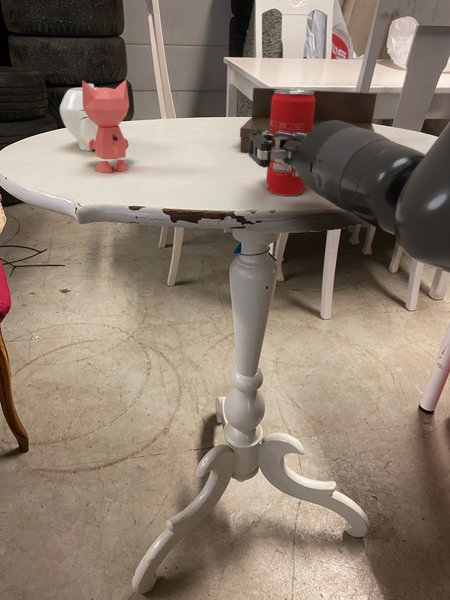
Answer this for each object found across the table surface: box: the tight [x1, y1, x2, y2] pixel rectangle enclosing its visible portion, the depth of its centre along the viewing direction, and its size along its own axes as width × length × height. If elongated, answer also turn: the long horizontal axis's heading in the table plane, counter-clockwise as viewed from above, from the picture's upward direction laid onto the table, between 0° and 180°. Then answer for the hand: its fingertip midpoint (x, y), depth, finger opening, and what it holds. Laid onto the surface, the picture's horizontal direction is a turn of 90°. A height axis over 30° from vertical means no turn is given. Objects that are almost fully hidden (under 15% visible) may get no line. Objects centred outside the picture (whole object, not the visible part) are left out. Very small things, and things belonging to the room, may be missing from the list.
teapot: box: [59, 83, 99, 152], centre depth 78 cm, size 10×20×9 cm, turn 13°
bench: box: [239, 87, 378, 154], centre depth 81 cm, size 22×13×9 cm, turn 78°
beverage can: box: [265, 88, 315, 196], centre depth 58 cm, size 5×5×12 cm
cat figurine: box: [80, 79, 130, 173], centre depth 66 cm, size 7×7×12 cm
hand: (282, 134), depth 60 cm, fingers open, 6 cm apart
